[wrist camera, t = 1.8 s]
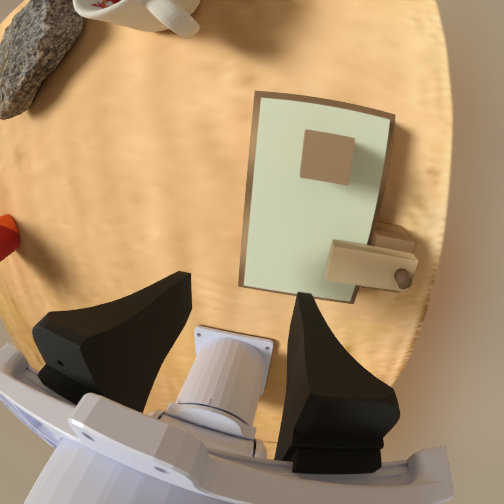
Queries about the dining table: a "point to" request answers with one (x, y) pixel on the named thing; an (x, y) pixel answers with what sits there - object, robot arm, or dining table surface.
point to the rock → (34, 50)
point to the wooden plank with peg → (370, 266)
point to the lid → (311, 193)
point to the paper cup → (8, 236)
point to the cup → (143, 14)
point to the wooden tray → (379, 232)
